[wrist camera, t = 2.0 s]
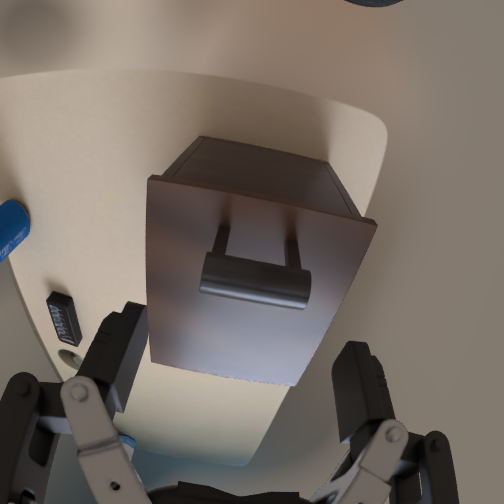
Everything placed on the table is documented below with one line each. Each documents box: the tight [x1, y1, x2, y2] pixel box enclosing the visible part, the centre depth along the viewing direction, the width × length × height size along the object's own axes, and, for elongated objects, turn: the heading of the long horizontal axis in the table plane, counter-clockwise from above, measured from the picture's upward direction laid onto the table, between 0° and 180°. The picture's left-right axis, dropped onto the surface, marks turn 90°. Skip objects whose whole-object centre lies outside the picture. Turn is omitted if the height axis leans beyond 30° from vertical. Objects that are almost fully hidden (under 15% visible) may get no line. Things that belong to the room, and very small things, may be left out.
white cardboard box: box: [118, 435, 136, 461], centre depth 73 cm, size 8×5×15 cm, turn 111°
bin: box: [161, 136, 362, 217], centre depth 28 cm, size 17×14×14 cm
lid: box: [146, 174, 377, 386], centre depth 20 cm, size 17×14×6 cm
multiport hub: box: [46, 291, 82, 347], centre depth 45 cm, size 4×11×2 cm, turn 167°
